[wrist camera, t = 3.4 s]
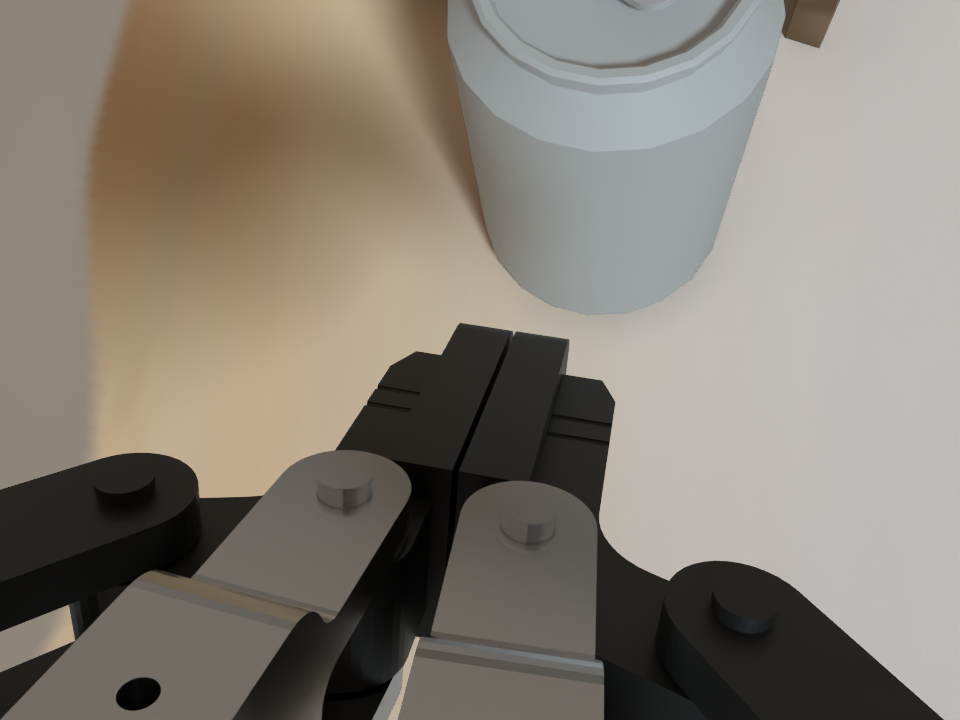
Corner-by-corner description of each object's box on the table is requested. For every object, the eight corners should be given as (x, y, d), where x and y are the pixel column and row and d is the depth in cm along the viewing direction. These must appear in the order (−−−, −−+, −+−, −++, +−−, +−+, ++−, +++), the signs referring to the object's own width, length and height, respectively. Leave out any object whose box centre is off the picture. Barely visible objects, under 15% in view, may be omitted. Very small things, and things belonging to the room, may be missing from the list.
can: (593, 83, 31) (602, -243, 20) (764, 211, 29) (883, -74, 18) (441, 227, 30) (361, -33, 19) (608, 372, 28) (630, 176, 17)
